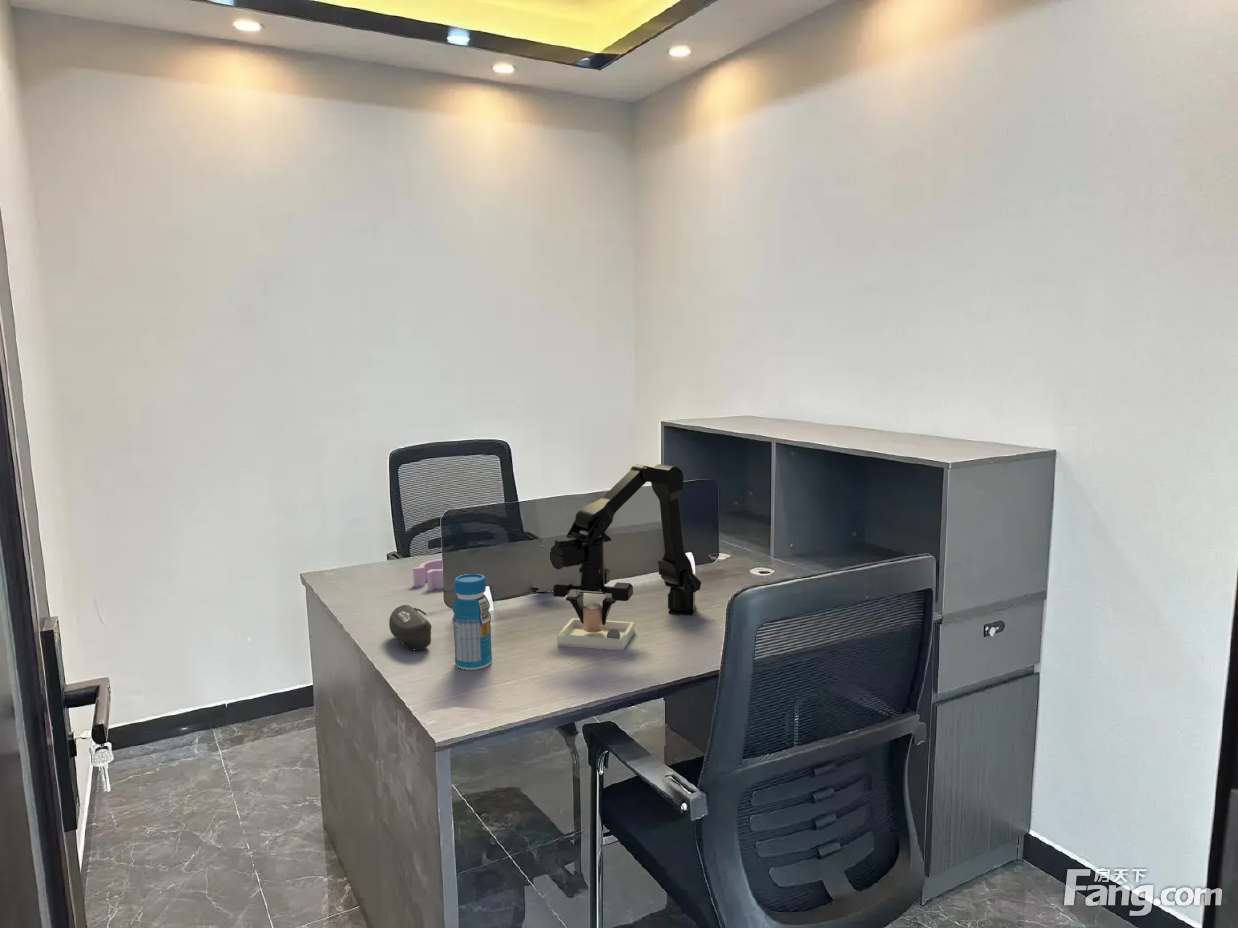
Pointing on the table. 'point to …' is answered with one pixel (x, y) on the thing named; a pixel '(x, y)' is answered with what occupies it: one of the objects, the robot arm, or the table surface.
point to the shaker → (592, 617)
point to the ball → (613, 634)
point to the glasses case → (410, 627)
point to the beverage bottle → (471, 623)
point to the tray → (595, 635)
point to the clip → (429, 574)
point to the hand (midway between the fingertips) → (593, 623)
